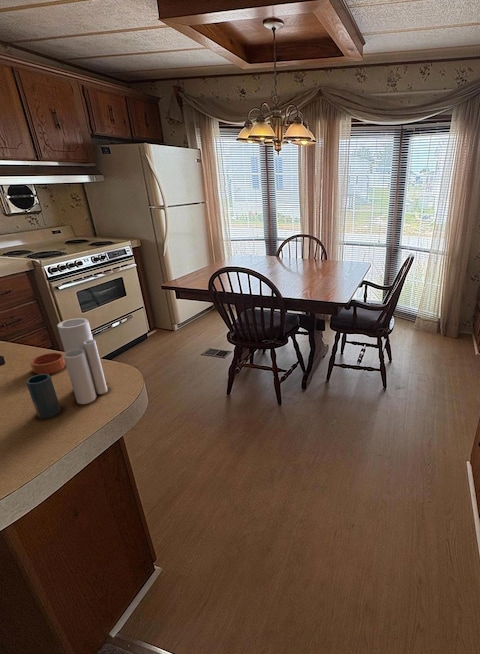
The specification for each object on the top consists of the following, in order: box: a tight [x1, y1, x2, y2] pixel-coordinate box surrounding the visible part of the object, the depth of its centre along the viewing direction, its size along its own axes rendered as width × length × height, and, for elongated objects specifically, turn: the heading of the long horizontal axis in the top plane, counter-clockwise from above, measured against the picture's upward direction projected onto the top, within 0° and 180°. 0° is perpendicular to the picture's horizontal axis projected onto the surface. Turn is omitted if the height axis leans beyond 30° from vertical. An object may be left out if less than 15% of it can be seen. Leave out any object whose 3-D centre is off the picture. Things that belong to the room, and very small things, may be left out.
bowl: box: [29, 352, 66, 375], centre depth 105 cm, size 8×8×4 cm
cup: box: [25, 374, 61, 419], centre depth 84 cm, size 5×5×10 cm
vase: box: [56, 317, 108, 405], centre depth 91 cm, size 11×7×20 cm, turn 36°
